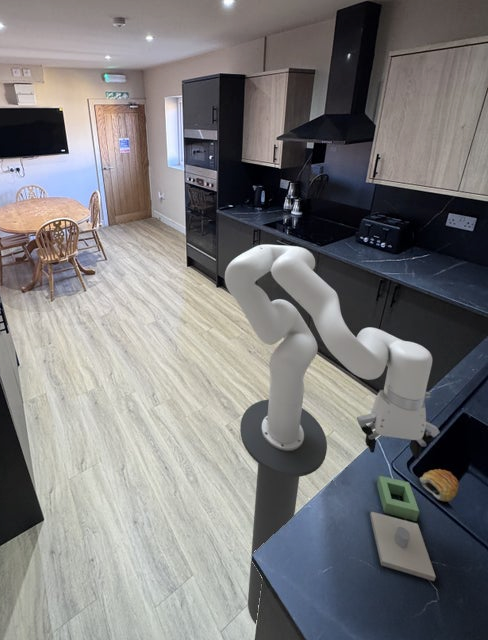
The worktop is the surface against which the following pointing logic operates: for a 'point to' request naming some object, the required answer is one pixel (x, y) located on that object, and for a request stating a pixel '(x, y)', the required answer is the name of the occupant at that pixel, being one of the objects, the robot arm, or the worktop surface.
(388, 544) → the base pad
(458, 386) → the worktop surface
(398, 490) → the green hollow square block
